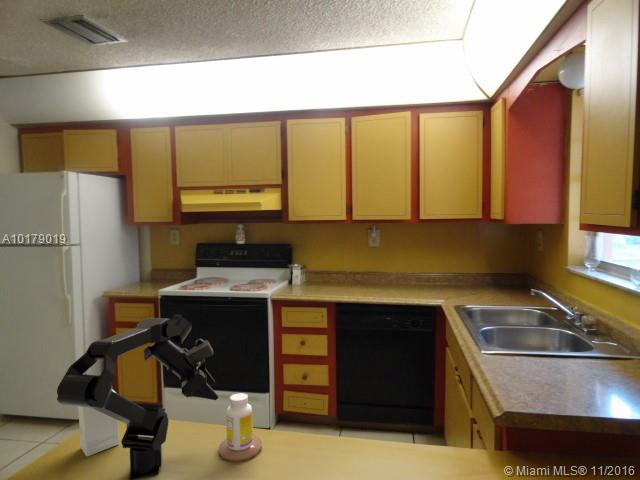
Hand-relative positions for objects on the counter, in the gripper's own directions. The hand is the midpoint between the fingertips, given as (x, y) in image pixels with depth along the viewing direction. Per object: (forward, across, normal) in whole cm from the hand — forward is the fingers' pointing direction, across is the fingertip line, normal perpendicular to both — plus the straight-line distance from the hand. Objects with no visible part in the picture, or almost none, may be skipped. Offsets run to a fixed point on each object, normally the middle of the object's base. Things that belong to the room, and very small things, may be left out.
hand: (216, 391), depth 108 cm
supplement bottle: (+13, -7, +5) cm, 15 cm away
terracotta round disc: (+14, -6, +6) cm, 16 cm away
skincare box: (-12, +7, +31) cm, 34 cm away
